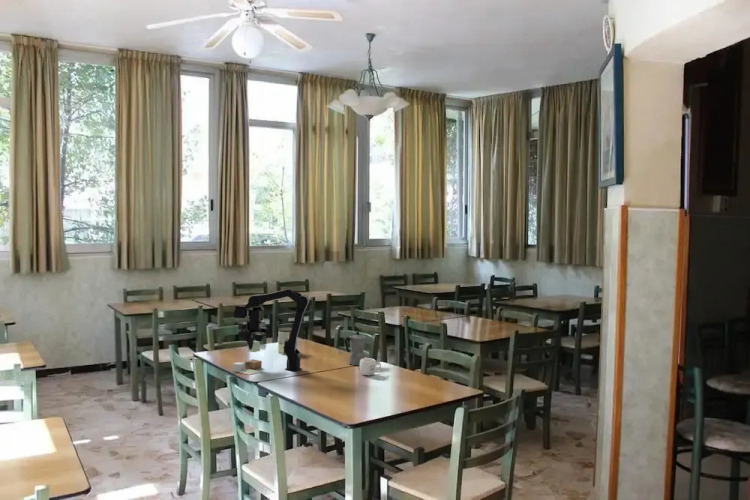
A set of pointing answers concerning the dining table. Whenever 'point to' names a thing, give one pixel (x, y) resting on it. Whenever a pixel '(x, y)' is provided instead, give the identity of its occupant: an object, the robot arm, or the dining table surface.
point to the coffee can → (283, 338)
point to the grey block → (238, 367)
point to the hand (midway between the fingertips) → (253, 348)
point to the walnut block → (253, 364)
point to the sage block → (255, 347)
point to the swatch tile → (249, 372)
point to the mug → (368, 366)
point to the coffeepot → (356, 348)
